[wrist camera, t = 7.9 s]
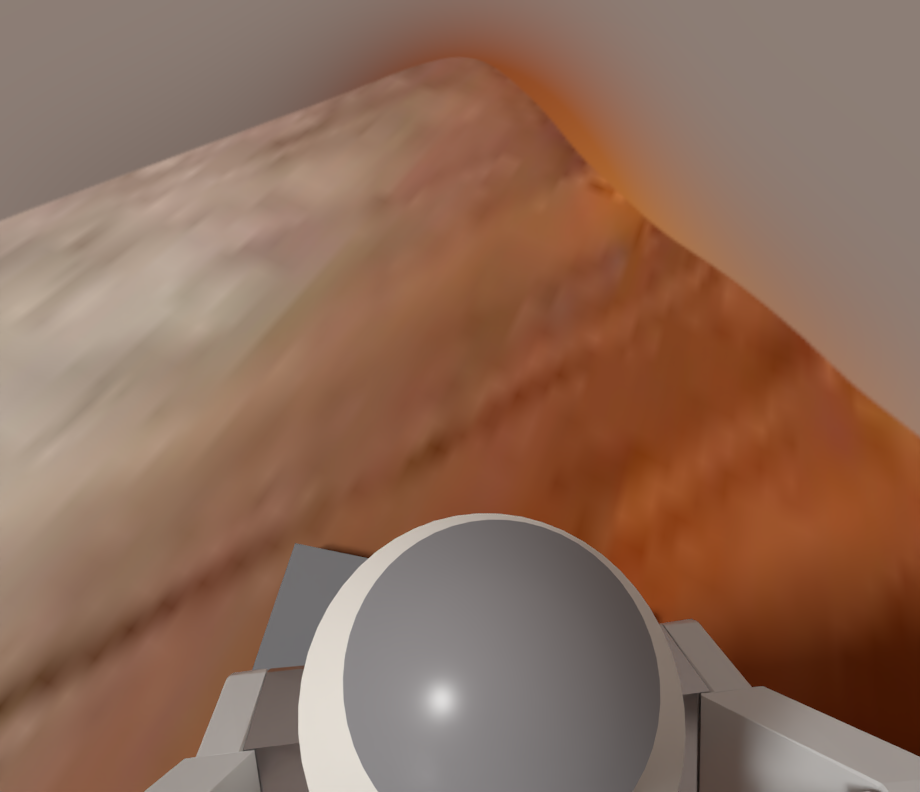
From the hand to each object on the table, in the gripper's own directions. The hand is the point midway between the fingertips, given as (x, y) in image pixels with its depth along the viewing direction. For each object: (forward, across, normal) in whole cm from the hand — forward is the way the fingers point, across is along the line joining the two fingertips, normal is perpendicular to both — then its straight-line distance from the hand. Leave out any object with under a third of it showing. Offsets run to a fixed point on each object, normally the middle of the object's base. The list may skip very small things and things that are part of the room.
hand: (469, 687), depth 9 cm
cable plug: (+3, 0, +4) cm, 4 cm away
